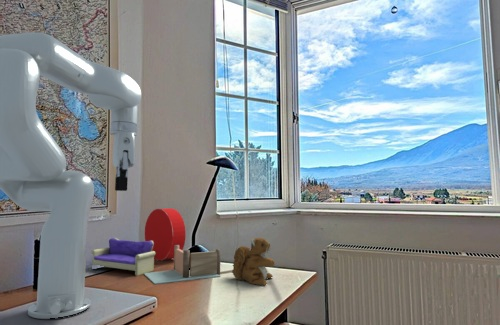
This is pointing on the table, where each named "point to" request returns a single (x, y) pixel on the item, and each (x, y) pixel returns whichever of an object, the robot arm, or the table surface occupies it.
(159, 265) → the table surface
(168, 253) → the red thick disc
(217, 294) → the table surface
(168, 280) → the mat
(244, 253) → the stuffed squirrel
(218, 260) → the fixed panel
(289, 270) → the table surface
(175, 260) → the panel
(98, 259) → the toy sofa
